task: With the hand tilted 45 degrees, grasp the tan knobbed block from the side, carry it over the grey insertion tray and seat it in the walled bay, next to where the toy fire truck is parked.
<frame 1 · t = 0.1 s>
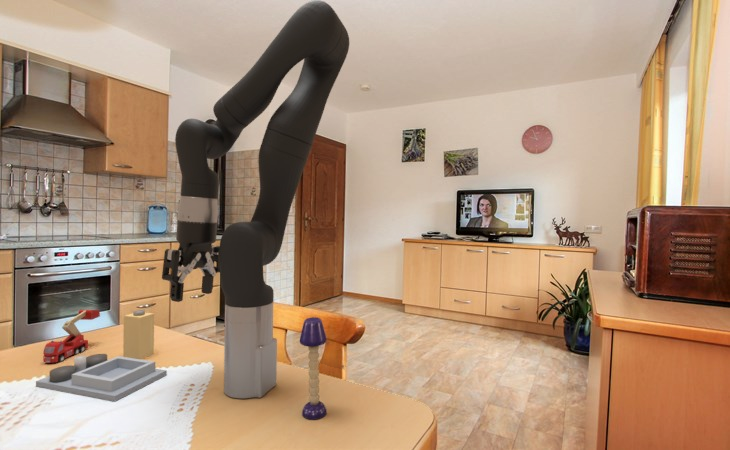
hand: (192, 297, 77), 17 cm above the table, tool pointing down, fingers open, 8 cm apart
toy lamp: (312, 414, 65), on the table
toy fire truck: (72, 354, 90), on the table
grey insertion tray: (103, 380, 76), on the table
tan knobbed block: (138, 355, 90), on the table
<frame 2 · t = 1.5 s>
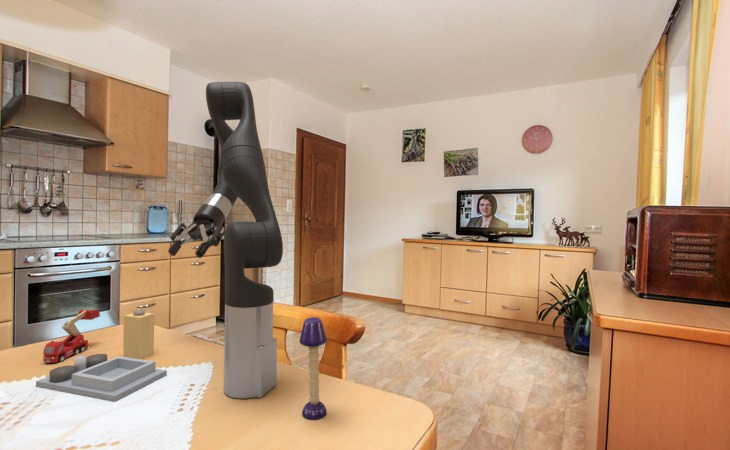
hand: (184, 255, 98), 24 cm above the table, tool tilted 45°, fingers open, 8 cm apart
nothing on the table moved.
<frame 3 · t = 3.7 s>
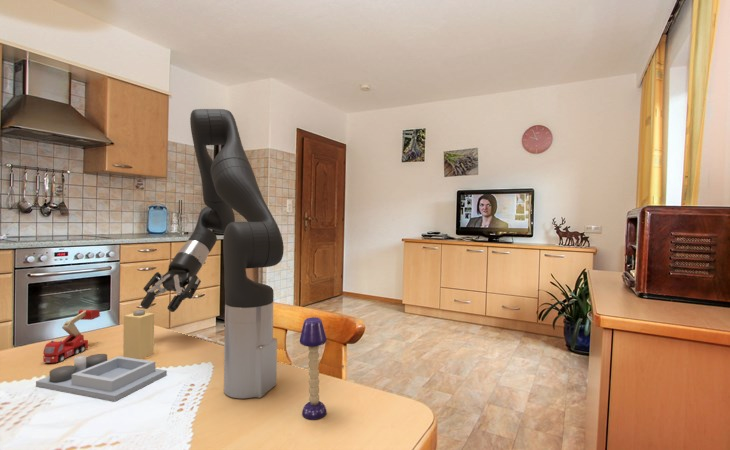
hand: (156, 308, 95), 10 cm above the table, tool tilted 45°, fingers open, 8 cm apart
nothing on the table moved.
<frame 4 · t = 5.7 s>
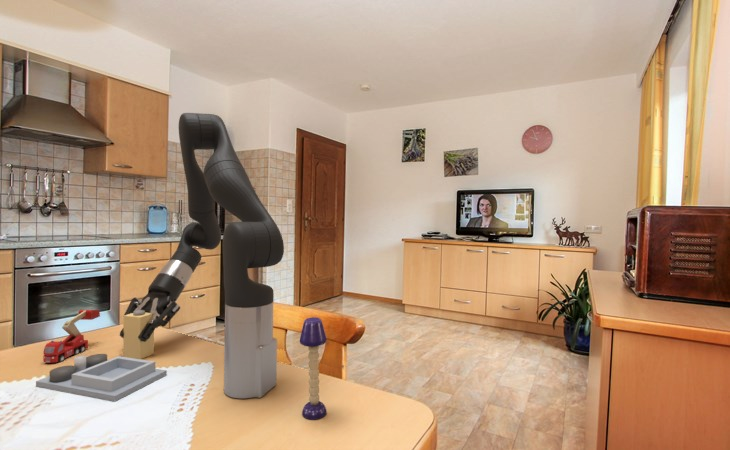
hand: (132, 338, 88), 5 cm above the table, tool tilted 45°, fingers closed on tan knobbed block, 5 cm apart
tan knobbed block: (138, 355, 90), on the table, touching gripper
everything else where it was.
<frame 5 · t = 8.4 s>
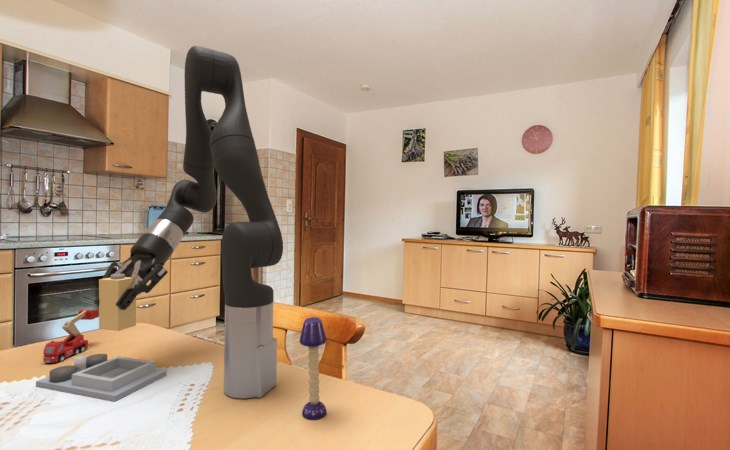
hand: (109, 306, 74), 16 cm above the table, tool tilted 45°, fingers closed on tan knobbed block, 5 cm apart
tan knobbed block: (117, 327, 75), point 11 cm above the table, touching gripper
everything else where it was.
when the fingers open (7 cm above the table, at t = 11.1 s): tan knobbed block drops 1 cm, resting on grey insertion tray.
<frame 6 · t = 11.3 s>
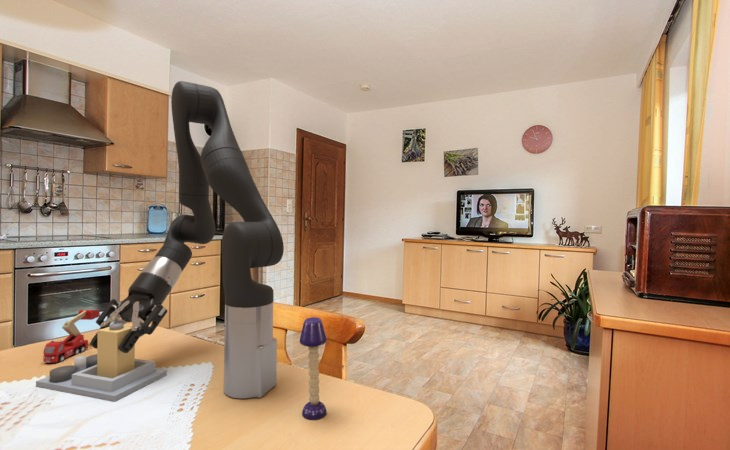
hand: (108, 348, 73), 7 cm above the table, tool tilted 45°, fingers open, 6 cm apart
tan knobbed block: (116, 377, 75), point 1 cm above the table, touching grey insertion tray
everything else where it was.
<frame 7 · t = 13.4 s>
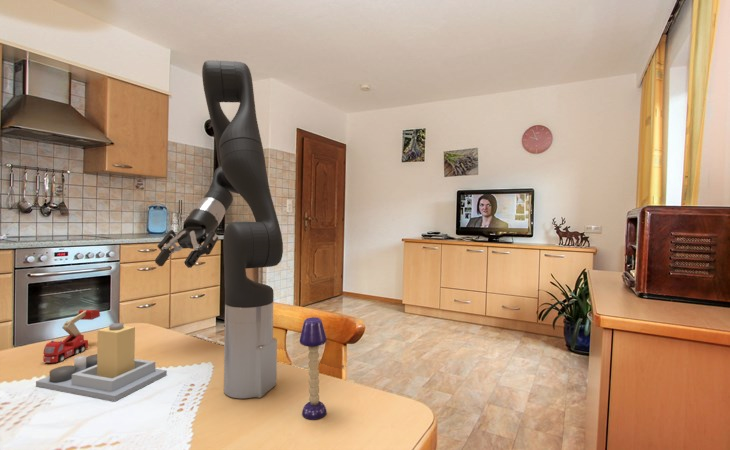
hand: (172, 264, 88), 22 cm above the table, tool tilted 45°, fingers open, 8 cm apart
nothing on the table moved.
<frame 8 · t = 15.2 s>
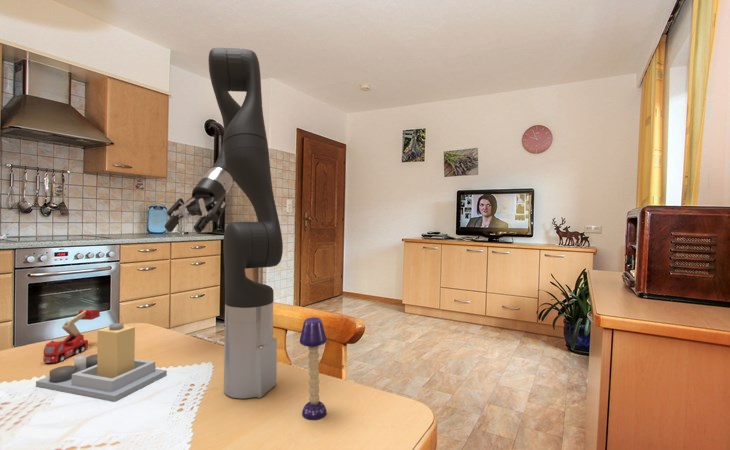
hand: (181, 230, 90), 31 cm above the table, tool tilted 45°, fingers open, 8 cm apart
nothing on the table moved.
at the end: tan knobbed block 0.1 cm from the target spot on the grey insertion tray, point 1.0 cm above the grey insertion tray's base; tan knobbed block tilted 0°; the gripper is holding nothing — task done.
